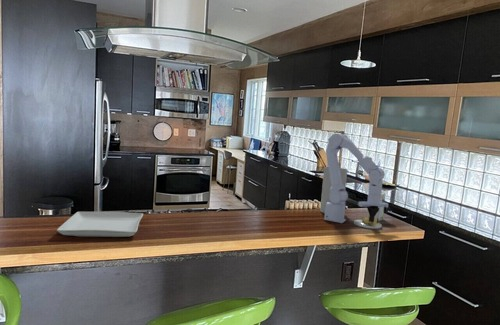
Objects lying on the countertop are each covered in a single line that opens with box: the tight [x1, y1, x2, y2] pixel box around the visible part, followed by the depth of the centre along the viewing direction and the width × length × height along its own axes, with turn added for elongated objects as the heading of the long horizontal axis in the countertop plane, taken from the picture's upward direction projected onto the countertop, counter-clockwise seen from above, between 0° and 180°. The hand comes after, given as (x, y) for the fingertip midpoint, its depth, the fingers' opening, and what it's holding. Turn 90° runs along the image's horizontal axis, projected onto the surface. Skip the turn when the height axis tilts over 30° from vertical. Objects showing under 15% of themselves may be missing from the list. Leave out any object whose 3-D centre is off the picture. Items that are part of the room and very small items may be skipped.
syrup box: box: [375, 191, 386, 222], centre depth 188 cm, size 6×6×14 cm
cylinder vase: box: [319, 166, 348, 214], centre depth 195 cm, size 12×12×25 cm
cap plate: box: [353, 218, 383, 230], centre depth 173 cm, size 13×13×4 cm
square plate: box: [56, 211, 144, 238], centre depth 139 cm, size 27×27×4 cm
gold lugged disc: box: [361, 216, 377, 226], centre depth 172 cm, size 8×8×4 cm
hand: (371, 221), depth 168 cm, fingers closed, pressing on gold lugged disc
